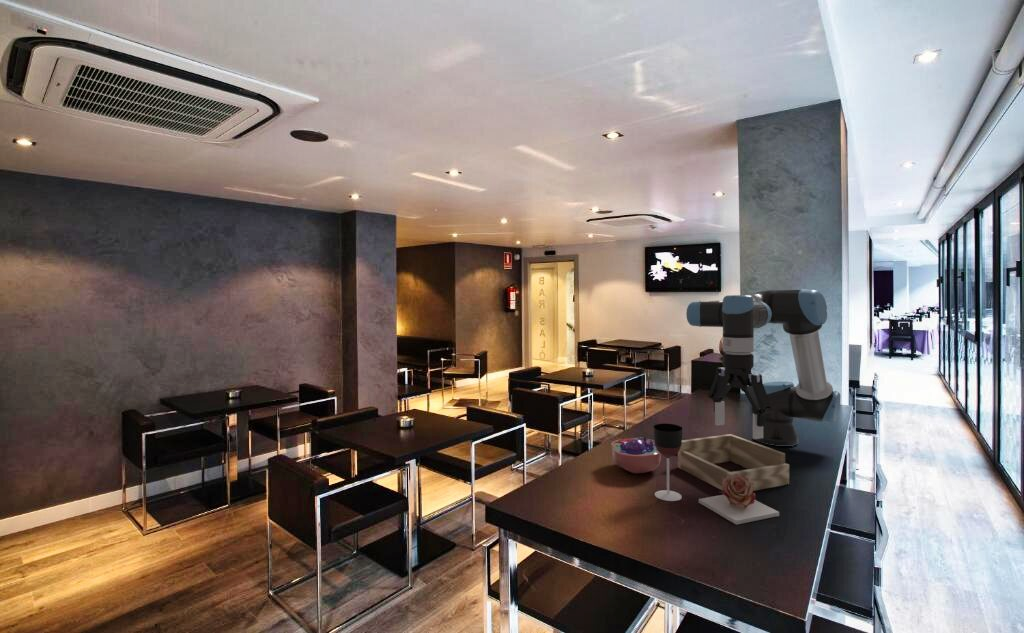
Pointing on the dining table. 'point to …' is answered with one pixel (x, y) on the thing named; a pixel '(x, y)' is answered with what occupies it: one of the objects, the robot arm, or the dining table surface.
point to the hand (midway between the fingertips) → (737, 431)
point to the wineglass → (668, 452)
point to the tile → (738, 510)
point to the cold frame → (758, 459)
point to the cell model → (636, 454)
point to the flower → (738, 490)
